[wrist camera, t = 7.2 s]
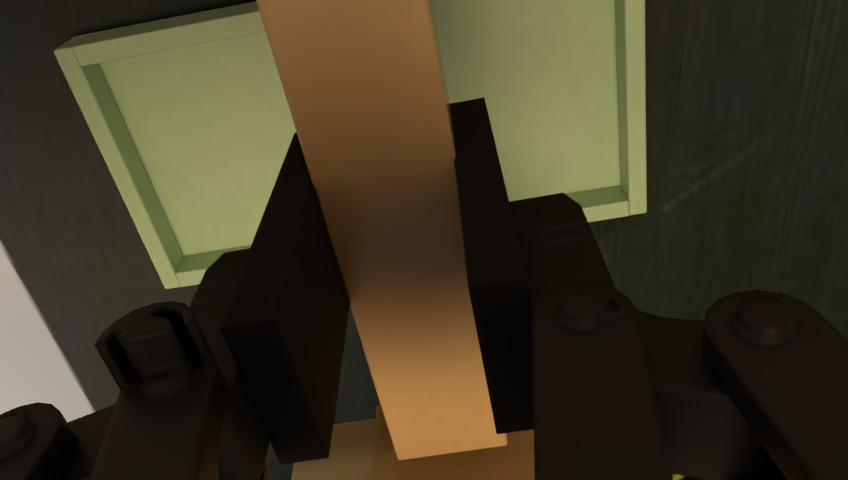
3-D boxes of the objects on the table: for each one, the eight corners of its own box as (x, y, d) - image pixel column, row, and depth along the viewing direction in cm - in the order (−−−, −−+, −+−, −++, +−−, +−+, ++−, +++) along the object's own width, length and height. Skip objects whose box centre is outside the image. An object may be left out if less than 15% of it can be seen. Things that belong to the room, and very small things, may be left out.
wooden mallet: (100, -83, 13) (-1, -51, 10) (455, -161, 12) (468, -154, 9) (351, 544, 22) (340, 660, 19) (552, 518, 22) (575, 633, 19)
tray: (177, 266, 34) (165, 289, 32) (73, 36, 28) (51, 50, 26) (634, 192, 32) (647, 213, 31) (630, -72, 26) (645, -63, 24)
